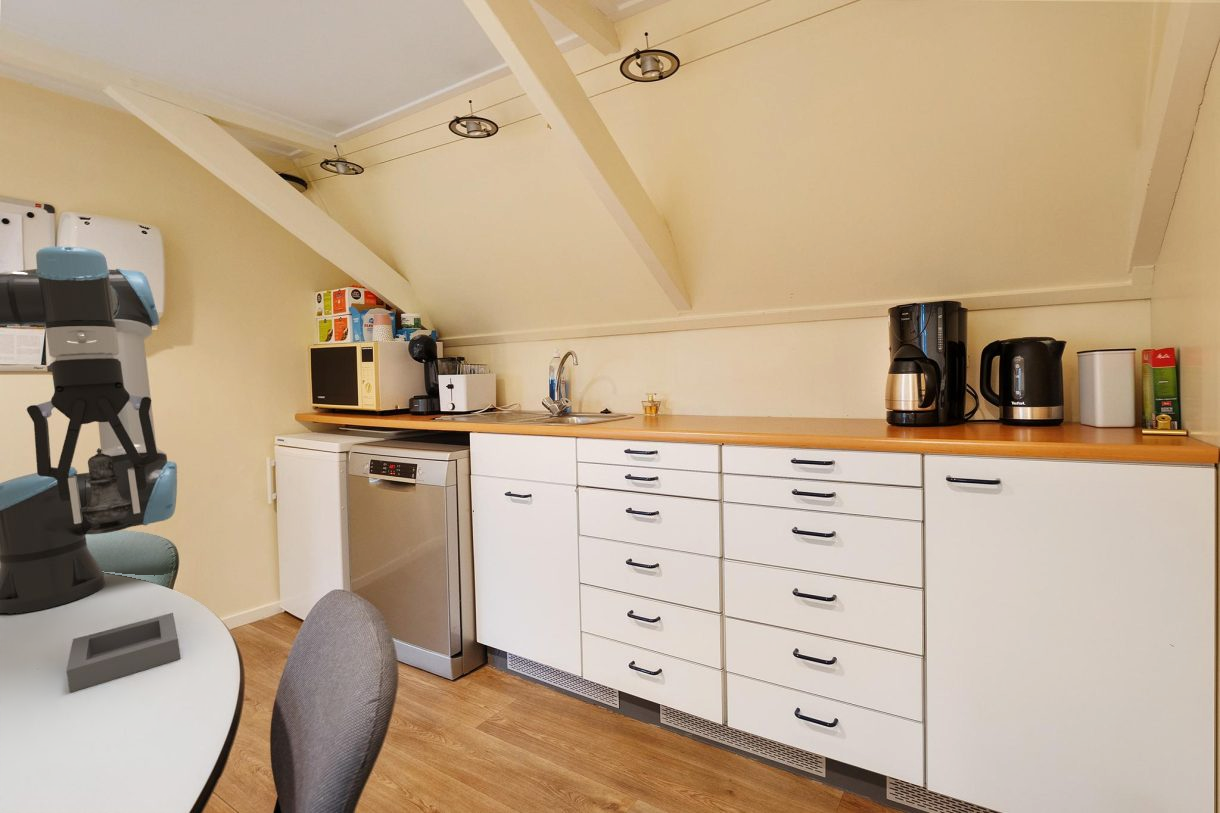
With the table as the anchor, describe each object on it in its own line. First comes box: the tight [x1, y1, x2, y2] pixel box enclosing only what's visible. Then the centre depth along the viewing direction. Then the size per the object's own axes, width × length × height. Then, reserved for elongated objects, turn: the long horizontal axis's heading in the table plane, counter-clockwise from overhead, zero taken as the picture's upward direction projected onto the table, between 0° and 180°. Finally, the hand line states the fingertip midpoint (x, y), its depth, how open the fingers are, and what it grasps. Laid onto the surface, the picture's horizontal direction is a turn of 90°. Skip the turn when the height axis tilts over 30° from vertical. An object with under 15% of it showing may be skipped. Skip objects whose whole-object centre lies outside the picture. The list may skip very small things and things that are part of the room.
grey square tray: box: [66, 612, 181, 693], centre depth 84 cm, size 12×12×3 cm
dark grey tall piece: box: [80, 447, 134, 536], centre depth 86 cm, size 6×6×12 cm
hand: (108, 516), depth 86 cm, fingers closed on dark grey tall piece, 6 cm apart
